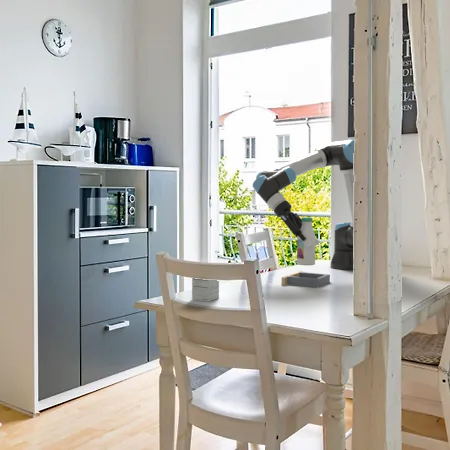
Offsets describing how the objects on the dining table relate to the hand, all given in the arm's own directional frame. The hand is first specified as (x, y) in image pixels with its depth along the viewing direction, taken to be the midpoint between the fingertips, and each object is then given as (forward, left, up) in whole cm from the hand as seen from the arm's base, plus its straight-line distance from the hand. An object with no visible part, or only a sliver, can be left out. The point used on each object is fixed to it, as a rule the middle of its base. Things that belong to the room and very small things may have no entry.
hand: (314, 245), depth 234 cm
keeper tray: (-1, -3, -17) cm, 17 cm away
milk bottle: (0, -4, -9) cm, 9 cm away
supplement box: (+51, -22, -17) cm, 58 cm away
